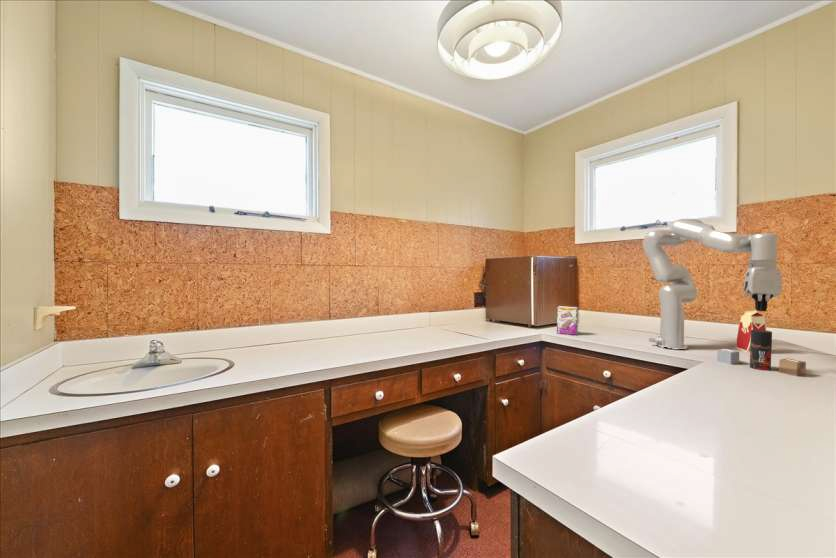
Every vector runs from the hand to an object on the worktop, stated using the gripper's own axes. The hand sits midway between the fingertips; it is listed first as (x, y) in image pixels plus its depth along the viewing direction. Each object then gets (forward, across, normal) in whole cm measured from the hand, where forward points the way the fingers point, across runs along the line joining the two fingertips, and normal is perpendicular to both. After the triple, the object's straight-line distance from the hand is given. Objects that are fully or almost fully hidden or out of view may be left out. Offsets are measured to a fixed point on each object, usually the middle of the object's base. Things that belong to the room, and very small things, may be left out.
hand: (760, 310), depth 134 cm
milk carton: (+23, +15, +31) cm, 41 cm away
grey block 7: (+23, -7, +7) cm, 25 cm away
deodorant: (+23, 0, 0) cm, 23 cm away
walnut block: (+23, +7, -5) cm, 25 cm away
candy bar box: (+24, -63, +54) cm, 86 cm away
